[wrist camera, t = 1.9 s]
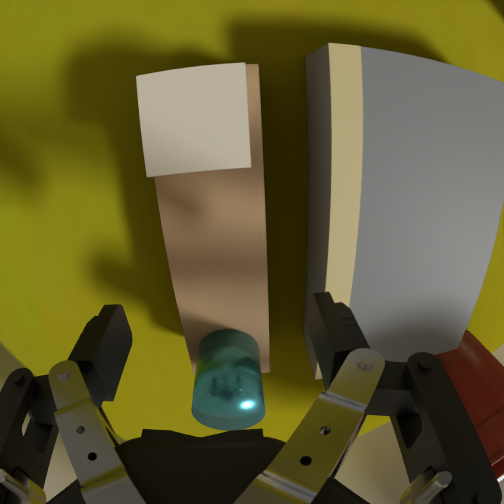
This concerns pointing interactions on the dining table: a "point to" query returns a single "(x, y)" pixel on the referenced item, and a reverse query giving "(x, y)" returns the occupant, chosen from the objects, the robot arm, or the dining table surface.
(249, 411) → the teal canister
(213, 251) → the pallet
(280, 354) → the dining table surface
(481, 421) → the flower pot
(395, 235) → the dock
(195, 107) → the white cube
